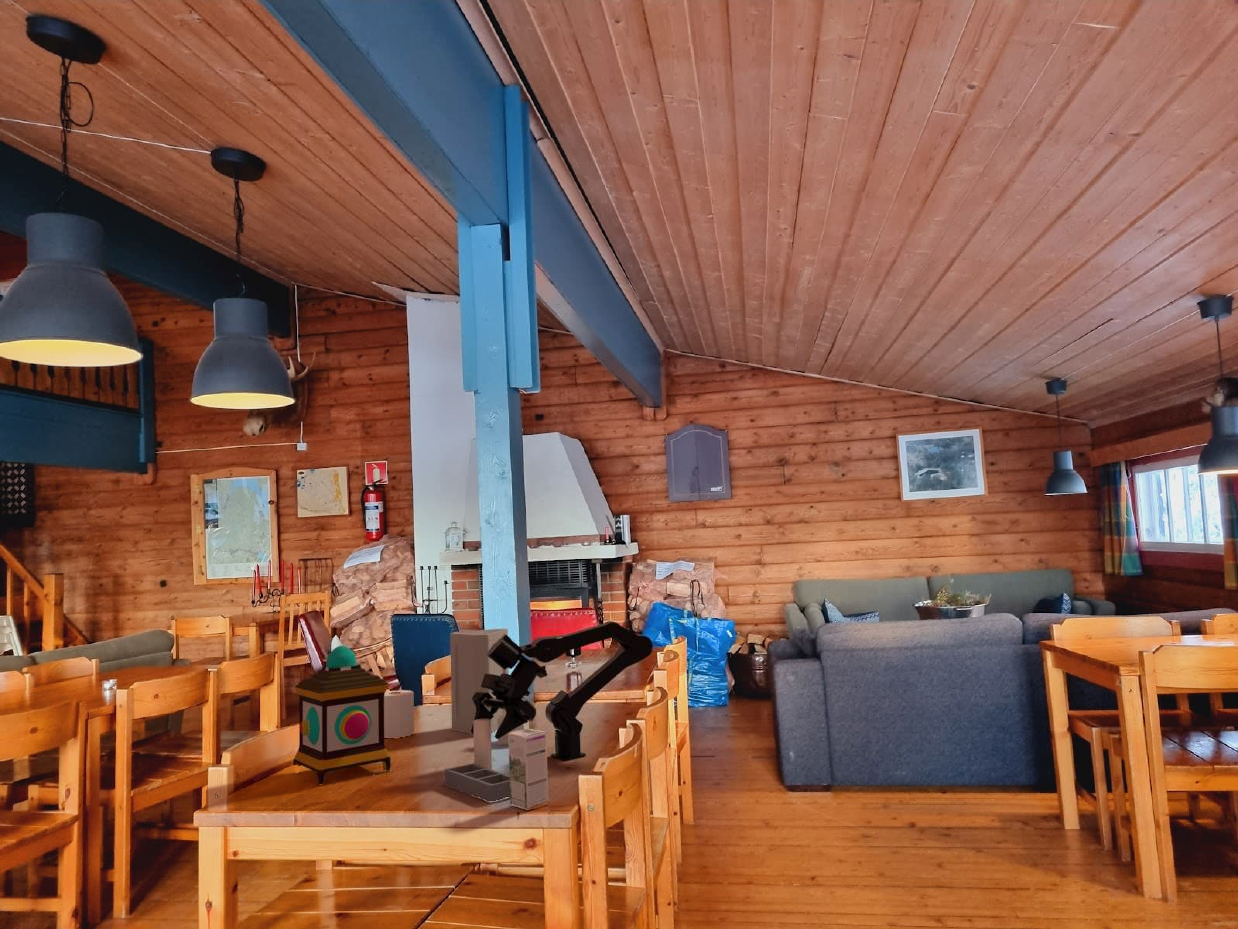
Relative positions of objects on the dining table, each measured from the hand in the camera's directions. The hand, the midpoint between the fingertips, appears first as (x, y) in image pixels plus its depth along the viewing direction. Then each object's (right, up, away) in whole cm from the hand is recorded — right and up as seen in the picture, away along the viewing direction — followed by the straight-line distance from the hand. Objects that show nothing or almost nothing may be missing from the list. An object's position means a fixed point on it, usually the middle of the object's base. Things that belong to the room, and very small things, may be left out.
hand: (484, 735), depth 198 cm
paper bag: (-10, -15, +52) cm, 55 cm away
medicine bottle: (+3, -12, +31) cm, 33 cm away
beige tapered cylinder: (0, -8, -1) cm, 8 cm away
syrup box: (+14, -5, -29) cm, 32 cm away
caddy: (+2, -7, -17) cm, 18 cm away
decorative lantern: (-35, -11, +5) cm, 37 cm away
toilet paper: (-33, -15, +46) cm, 59 cm away
